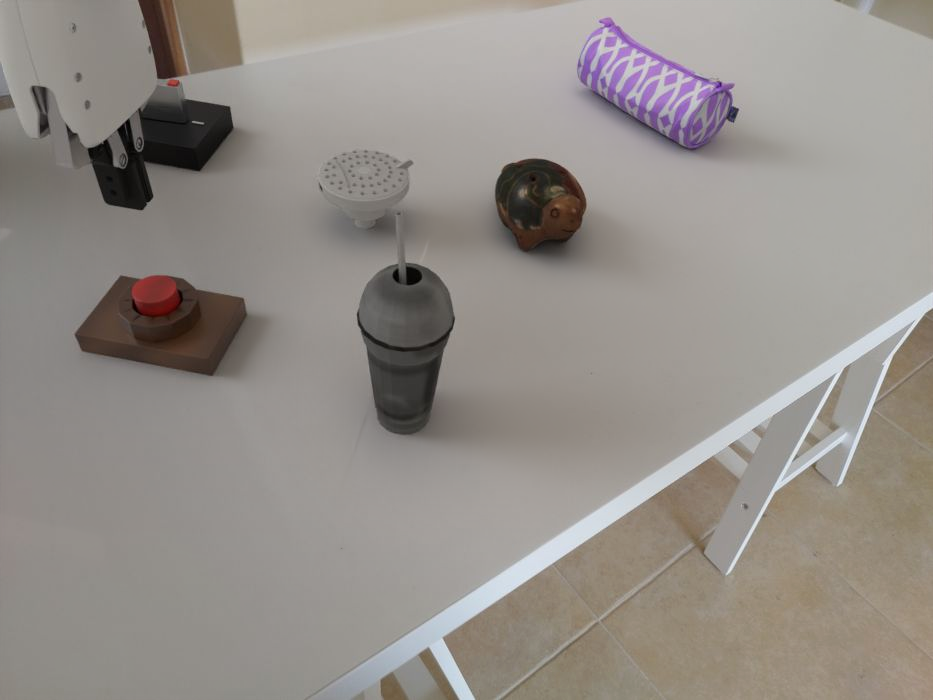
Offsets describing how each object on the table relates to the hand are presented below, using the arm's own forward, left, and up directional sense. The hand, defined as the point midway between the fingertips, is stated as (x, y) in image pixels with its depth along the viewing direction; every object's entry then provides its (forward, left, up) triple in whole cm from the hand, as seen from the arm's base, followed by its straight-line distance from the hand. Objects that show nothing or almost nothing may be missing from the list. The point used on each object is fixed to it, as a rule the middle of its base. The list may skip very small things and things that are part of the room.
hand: (129, 201), depth 57 cm
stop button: (0, 0, -11) cm, 11 cm away
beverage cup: (+23, -4, -15) cm, 27 cm away
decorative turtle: (+31, +25, -15) cm, 42 cm away
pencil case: (+43, +55, -15) cm, 71 cm away
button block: (0, 0, -14) cm, 14 cm away
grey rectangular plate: (-14, +30, -11) cm, 35 cm away
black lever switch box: (-14, +30, -14) cm, 36 cm away
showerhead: (+13, +21, -15) cm, 29 cm away
